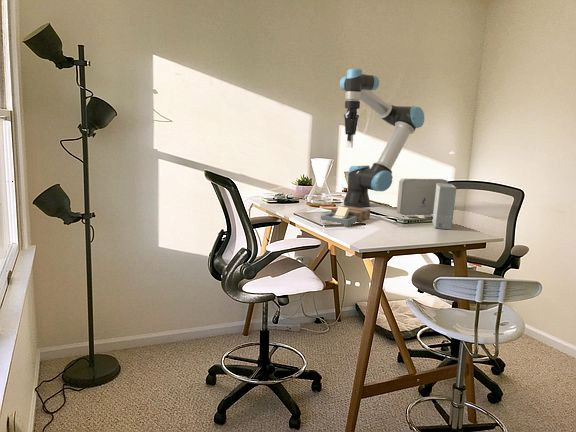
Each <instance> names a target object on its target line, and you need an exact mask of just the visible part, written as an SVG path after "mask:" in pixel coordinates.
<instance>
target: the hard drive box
mask: <svg viewBox="0 0 576 432" xmlns="http://www.w3.org/2000/svg"><path fill="white" fill-rule="evenodd" d="M456 195H457V187H456V186H455V185H454V184H452V183H448V184H443V183H436V193H435V202H434V211H433V214H432V215H433V216H432V217H433V219H431V220H432V224H433V228H434V229H441V230H442V229H443V230H452V229H453V228H452V227H453V219H454V211H455V204H456Z"/></svg>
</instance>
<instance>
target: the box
mask: <svg viewBox="0 0 576 432" xmlns="http://www.w3.org/2000/svg"><path fill="white" fill-rule="evenodd" d="M335 214H336V213H331V212H329V213H325V214H322V215H320V220H321V219H322V220H327V221H332V222H337V223H341V224H344V226H345V227H344V228H350V227H351V226H350V225H351V224H353V223H355V222H357V217H356V216H349V215H348V216H347V218H346V219H342V218H336V217H332V216H335ZM349 226H350V227H349Z"/></svg>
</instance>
